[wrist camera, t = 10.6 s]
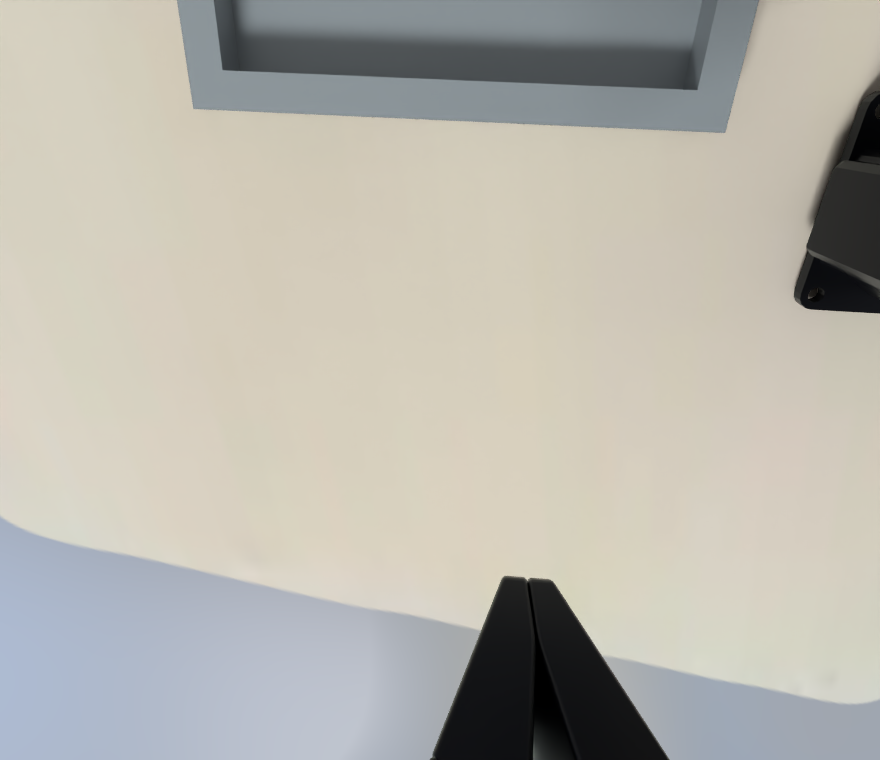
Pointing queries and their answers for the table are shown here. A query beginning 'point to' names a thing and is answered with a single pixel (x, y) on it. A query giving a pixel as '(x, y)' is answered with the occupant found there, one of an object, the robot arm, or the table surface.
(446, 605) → the table surface
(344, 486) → the table surface
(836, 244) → the robot arm
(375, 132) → the table surface
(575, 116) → the serving tray
